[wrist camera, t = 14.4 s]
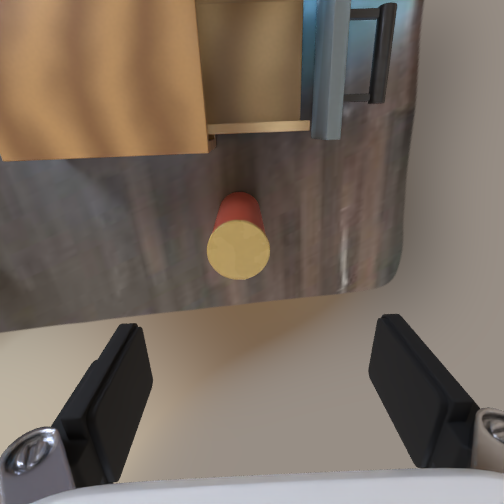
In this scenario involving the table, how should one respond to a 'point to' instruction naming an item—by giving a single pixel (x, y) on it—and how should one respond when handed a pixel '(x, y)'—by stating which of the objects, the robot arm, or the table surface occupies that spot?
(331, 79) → the drawer
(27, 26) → the cabinet
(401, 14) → the table surface
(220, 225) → the tin
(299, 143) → the table surface
